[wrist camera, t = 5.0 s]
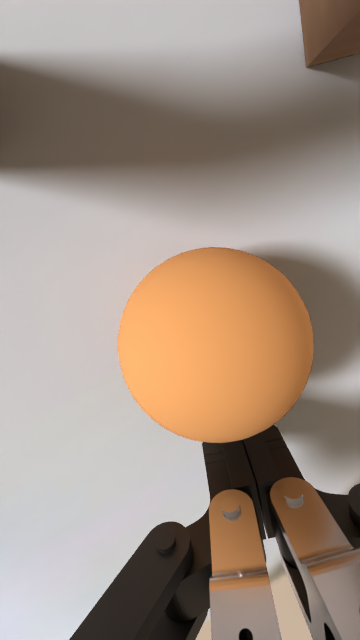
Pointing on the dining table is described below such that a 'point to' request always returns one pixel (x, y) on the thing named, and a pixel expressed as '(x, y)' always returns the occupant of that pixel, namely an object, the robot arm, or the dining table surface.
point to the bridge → (330, 29)
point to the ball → (215, 345)
